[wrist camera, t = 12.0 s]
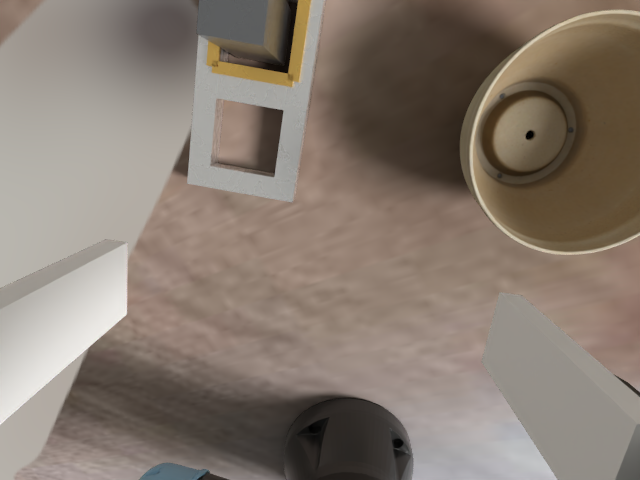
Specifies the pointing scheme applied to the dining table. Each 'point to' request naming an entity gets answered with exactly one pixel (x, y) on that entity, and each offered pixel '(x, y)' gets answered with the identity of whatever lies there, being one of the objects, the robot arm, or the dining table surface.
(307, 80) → the grey slotted holder
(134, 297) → the dining table surface
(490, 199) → the planter bowl
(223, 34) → the peg
